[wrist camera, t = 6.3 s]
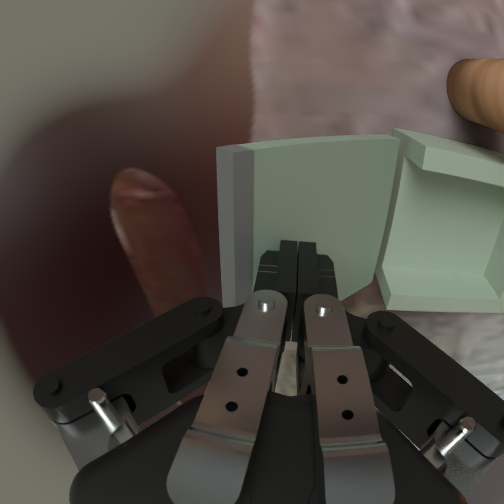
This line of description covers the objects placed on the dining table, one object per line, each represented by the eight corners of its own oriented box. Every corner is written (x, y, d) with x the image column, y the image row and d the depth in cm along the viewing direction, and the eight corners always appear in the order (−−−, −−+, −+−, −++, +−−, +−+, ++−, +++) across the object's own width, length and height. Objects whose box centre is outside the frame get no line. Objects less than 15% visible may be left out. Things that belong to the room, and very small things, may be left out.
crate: (506, 155, 17) (553, 181, 12) (474, 267, 22) (503, 312, 17) (393, 127, 18) (425, 146, 13) (370, 258, 23) (386, 309, 18)
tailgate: (400, 138, 15) (232, 152, 10) (372, 282, 20) (237, 357, 15) (384, 134, 16) (216, 147, 11) (360, 275, 21) (225, 343, 15)
